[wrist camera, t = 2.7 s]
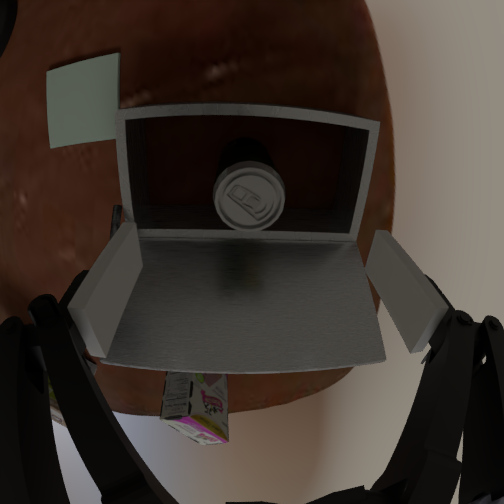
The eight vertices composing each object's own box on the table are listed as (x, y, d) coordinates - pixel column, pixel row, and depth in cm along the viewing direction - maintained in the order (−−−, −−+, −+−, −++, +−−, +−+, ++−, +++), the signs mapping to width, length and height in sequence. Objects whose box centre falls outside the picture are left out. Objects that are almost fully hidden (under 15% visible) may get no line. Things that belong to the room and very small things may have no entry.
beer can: (210, 166, 30) (197, 211, 20) (238, 126, 28) (240, 149, 18) (250, 191, 32) (258, 246, 22) (279, 154, 30) (303, 192, 19)
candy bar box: (229, 360, 48) (230, 443, 34) (205, 366, 49) (201, 446, 35) (198, 322, 42) (189, 417, 29) (172, 330, 43) (157, 420, 30)
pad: (49, 71, 21) (46, 71, 20) (120, 53, 22) (118, 52, 21) (52, 147, 26) (50, 148, 26) (120, 137, 27) (118, 138, 26)
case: (124, 106, 25) (12, 142, 10) (355, 114, 27) (470, 157, 12) (138, 248, 35) (88, 363, 19) (331, 251, 37) (383, 364, 21)
